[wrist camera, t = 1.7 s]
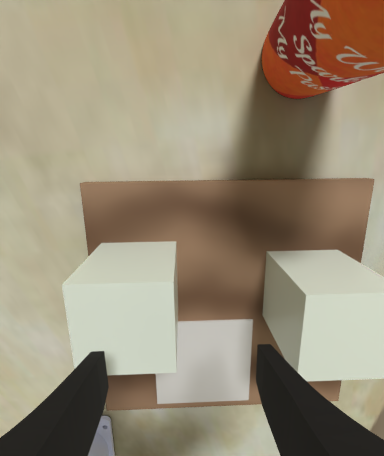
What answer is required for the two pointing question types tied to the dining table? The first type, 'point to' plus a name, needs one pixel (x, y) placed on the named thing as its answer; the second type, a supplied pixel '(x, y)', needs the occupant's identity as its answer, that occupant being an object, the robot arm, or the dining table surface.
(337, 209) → the board
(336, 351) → the cover
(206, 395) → the pad
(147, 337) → the cover
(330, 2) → the paper cup
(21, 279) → the dining table surface
